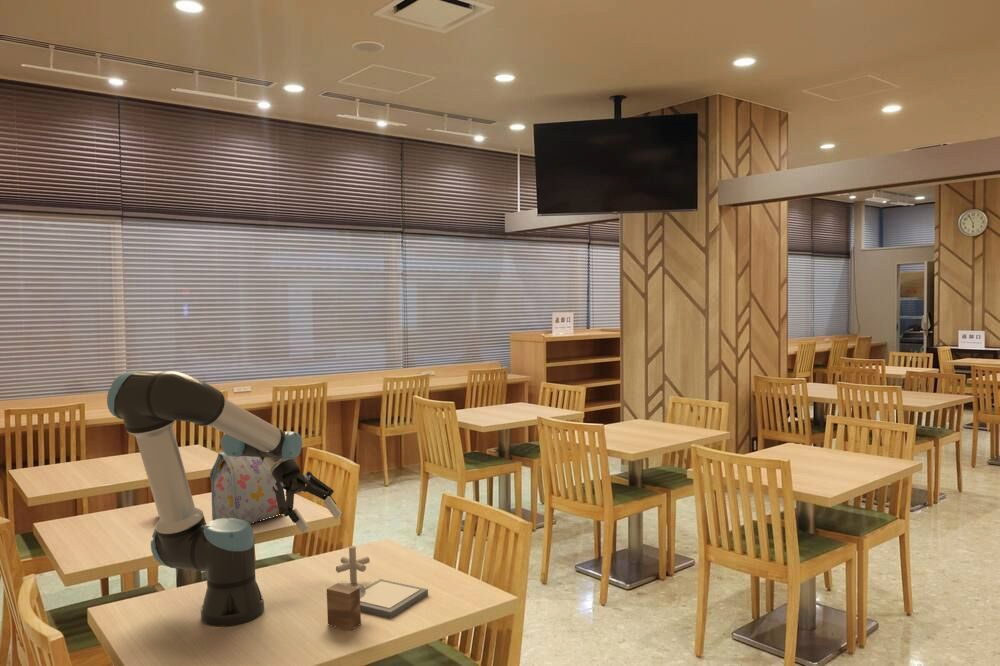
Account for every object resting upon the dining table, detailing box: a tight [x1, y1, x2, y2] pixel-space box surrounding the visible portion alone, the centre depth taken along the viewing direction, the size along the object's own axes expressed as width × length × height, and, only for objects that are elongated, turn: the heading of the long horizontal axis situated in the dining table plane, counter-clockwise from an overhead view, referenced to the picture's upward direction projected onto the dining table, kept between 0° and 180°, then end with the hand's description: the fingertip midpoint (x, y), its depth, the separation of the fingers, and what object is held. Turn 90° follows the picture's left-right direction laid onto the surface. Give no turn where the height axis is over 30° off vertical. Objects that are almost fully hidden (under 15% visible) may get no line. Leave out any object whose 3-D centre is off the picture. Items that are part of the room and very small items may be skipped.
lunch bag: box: [209, 451, 285, 525], centre depth 273 cm, size 22×17×26 cm
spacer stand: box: [326, 578, 429, 631], centre depth 194 cm, size 26×16×9 cm, turn 150°
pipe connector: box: [335, 545, 371, 584], centre depth 211 cm, size 10×10×10 cm
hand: (322, 523), depth 216 cm, fingers open, 13 cm apart
